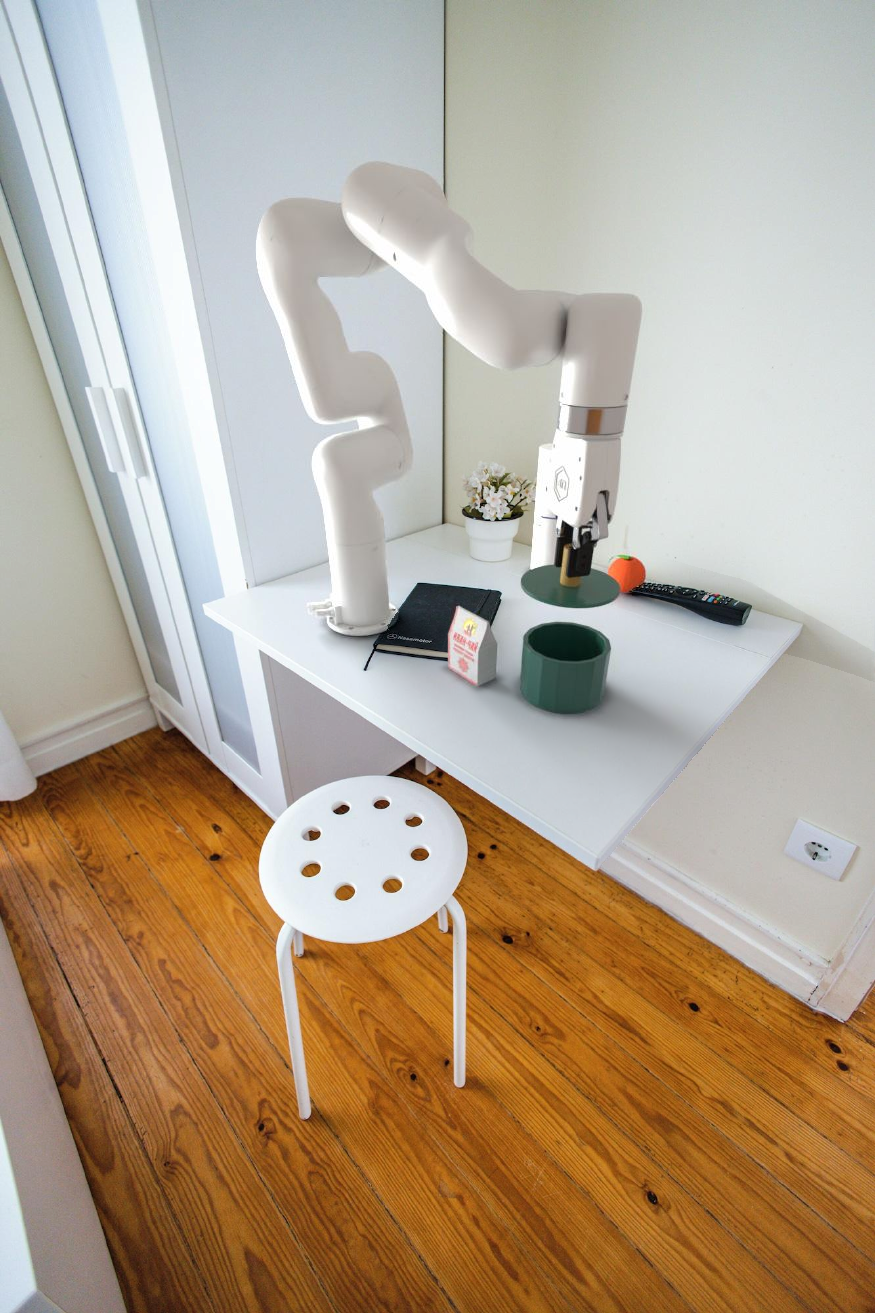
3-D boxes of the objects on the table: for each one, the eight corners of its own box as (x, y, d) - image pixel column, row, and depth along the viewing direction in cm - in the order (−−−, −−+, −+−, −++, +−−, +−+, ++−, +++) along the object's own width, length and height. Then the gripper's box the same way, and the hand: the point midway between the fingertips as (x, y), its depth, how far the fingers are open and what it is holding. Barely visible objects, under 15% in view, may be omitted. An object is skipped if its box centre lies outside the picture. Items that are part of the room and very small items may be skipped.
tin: (539, 720, 80) (544, 669, 76) (508, 674, 90) (510, 627, 86) (618, 705, 83) (627, 656, 79) (579, 663, 93) (585, 617, 89)
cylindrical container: (555, 582, 119) (568, 453, 106) (524, 574, 123) (532, 448, 110) (571, 571, 124) (585, 446, 111) (540, 563, 128) (551, 441, 115)
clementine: (593, 588, 117) (598, 553, 113) (616, 579, 120) (621, 545, 117) (627, 602, 111) (633, 566, 107) (650, 592, 115) (656, 557, 111)
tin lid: (544, 618, 72) (549, 571, 69) (506, 576, 83) (508, 534, 80) (638, 606, 75) (647, 560, 72) (589, 567, 86) (595, 526, 82)
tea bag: (466, 659, 94) (467, 602, 89) (495, 677, 90) (498, 618, 84) (448, 667, 92) (447, 609, 87) (477, 686, 88) (478, 626, 82)
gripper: (531, 409, 74) (520, 551, 83) (595, 436, 60) (573, 600, 70) (587, 407, 75) (570, 546, 85) (660, 432, 62) (630, 593, 72)
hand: (571, 569), depth 77 cm, fingers closed on tin lid, 2 cm apart
